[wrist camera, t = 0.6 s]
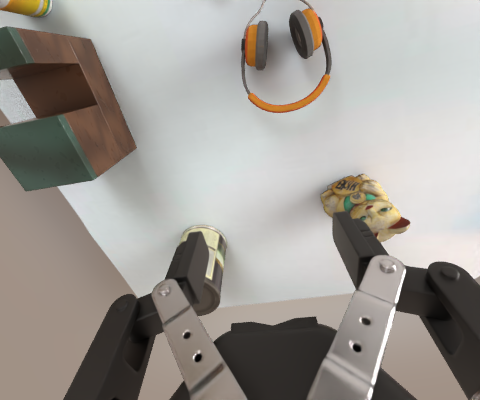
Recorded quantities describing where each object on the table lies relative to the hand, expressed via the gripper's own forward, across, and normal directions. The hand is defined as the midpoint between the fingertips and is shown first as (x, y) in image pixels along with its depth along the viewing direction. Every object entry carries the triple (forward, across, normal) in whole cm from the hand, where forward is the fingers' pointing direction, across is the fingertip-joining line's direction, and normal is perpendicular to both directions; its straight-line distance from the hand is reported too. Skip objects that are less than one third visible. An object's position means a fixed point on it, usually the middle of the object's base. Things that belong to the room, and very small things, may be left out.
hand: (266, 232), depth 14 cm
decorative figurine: (+27, -15, +16) cm, 35 cm away
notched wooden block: (+28, +26, -8) cm, 39 cm away
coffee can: (+27, +16, +23) cm, 39 cm away
